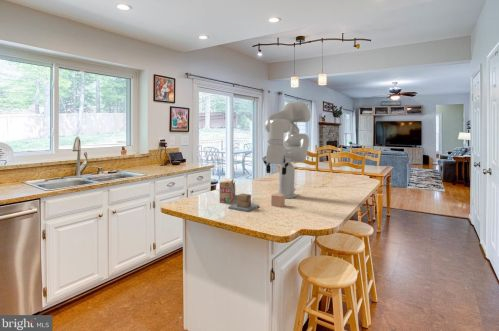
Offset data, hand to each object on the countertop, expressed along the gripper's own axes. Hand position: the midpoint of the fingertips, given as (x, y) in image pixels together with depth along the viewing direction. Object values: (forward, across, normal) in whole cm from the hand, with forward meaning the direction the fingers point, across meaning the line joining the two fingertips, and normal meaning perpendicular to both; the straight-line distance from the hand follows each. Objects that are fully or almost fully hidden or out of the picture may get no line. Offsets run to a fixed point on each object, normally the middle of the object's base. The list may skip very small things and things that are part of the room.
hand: (276, 173), depth 171 cm
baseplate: (+18, -11, -15) cm, 26 cm away
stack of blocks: (+18, -32, -3) cm, 37 cm away
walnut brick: (+16, -11, -15) cm, 25 cm away
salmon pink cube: (+18, +1, 0) cm, 18 cm away
